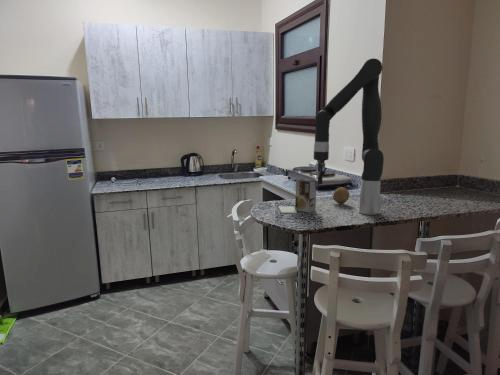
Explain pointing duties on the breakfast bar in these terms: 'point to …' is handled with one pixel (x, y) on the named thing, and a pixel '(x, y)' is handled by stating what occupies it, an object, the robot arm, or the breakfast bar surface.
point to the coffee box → (305, 195)
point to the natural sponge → (341, 195)
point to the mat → (287, 209)
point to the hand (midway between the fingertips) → (319, 183)
